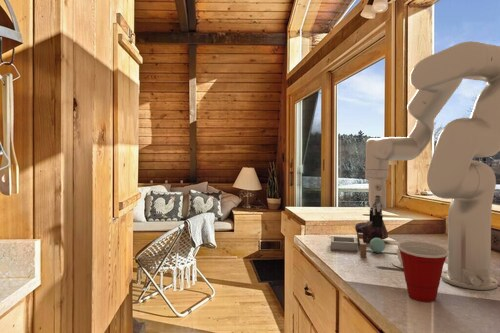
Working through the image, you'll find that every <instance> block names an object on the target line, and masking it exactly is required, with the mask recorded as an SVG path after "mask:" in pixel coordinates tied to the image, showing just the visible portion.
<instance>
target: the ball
mask: <svg viewBox="0 0 500 333" xmlns="http://www.w3.org/2000/svg"><path fill="white" fill-rule="evenodd" d="M369 248H370V250H371V251H373V252H374V253H378V254H379V253H382V252H383V251H384V250H385V248H386V244H385V241H384V239H383V240H382V239H380V238H374V239H372V240H371V241H370V243H369Z"/></svg>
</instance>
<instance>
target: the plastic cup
mask: <svg viewBox="0 0 500 333" xmlns="http://www.w3.org/2000/svg"><path fill="white" fill-rule="evenodd" d="M398 248H399V250H400V254H401V259H402V263H403V268H402V269H403V274H404V280H405V284H406V289H407V294H408V297H409V298H410V299H412V300H414V301H417V302H423V303H432V302H435V301H436V299H437V296H438V291H439V287H440V283H441V279H442V278H441V274H442V272H443V268H444V265H445V261H446V260H447V258H448V255H449V250H448V248H447V247H444V246H442V245H440V244H437V243H433V242H428V241H421V240H406V241H401V242H399V243H398V244H397V249H398Z"/></svg>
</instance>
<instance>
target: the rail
mask: <svg viewBox="0 0 500 333" xmlns="http://www.w3.org/2000/svg"><path fill="white" fill-rule="evenodd" d="M364 242H365V241H363V233H358V239H357V243H358V246H357V247H358V248H359V255H360V256H359V257H360V258H361V259H367V243H366V242H365V243H364Z"/></svg>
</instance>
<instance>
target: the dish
mask: <svg viewBox="0 0 500 333" xmlns="http://www.w3.org/2000/svg"><path fill="white" fill-rule="evenodd" d="M358 247H359V246H358V239H357V236H355V237H354V236H352V237H351V236H333V235H332V236H331V237H330V251H336V252H337V251H340V252H353V253H356V252H357V253H358Z"/></svg>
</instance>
